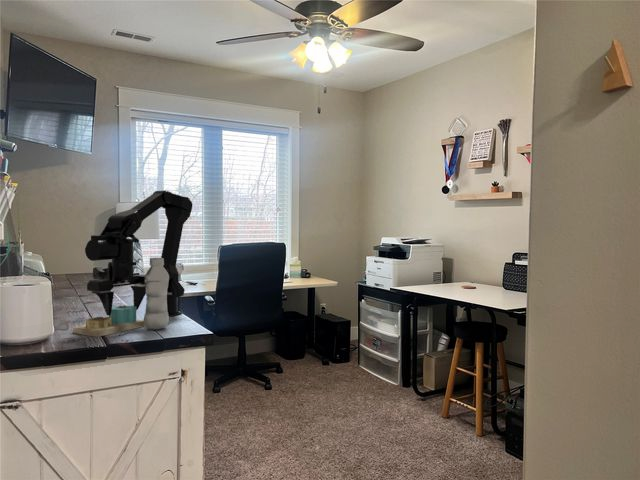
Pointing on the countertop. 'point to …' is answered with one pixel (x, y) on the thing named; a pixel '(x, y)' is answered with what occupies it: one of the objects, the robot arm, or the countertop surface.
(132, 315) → the teal gear
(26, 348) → the countertop surface
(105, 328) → the gear board
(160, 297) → the plastic bottle
